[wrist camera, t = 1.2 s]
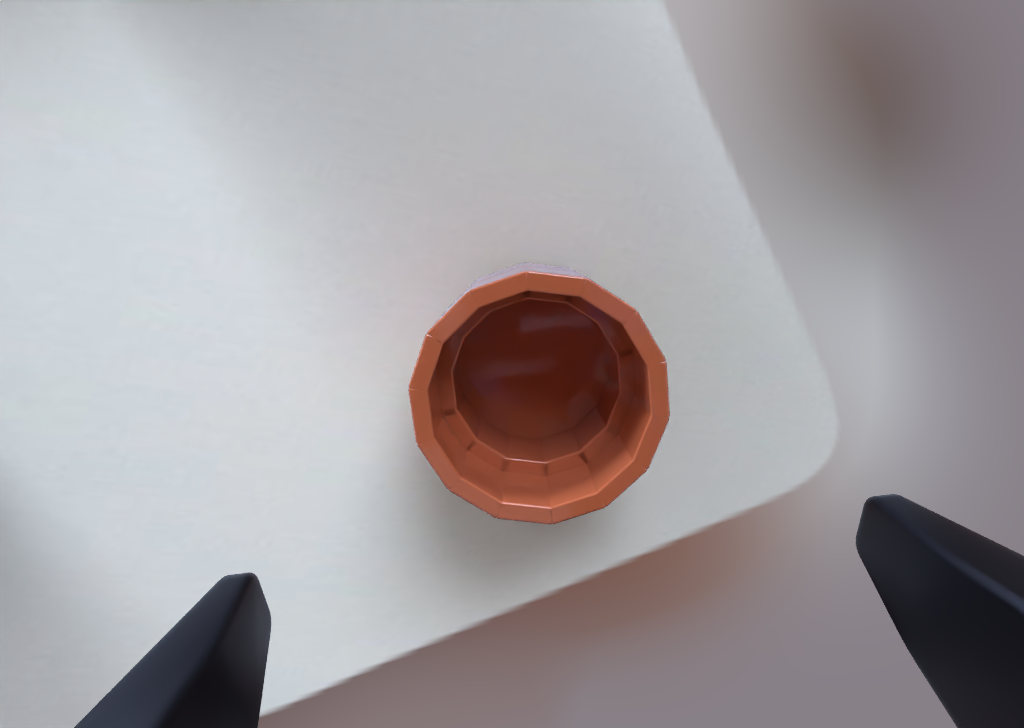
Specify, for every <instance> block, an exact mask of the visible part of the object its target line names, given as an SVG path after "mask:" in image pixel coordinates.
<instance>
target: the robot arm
mask: <svg viewBox="0 0 1024 728" xmlns="http://www.w3.org/2000/svg"><path fill="white" fill-rule="evenodd" d="M856 546H857V550H858V553H859V555H860V558H861V559H862V561H863V563H864V565H865V567H866V569H867V571H868V573H869V575H870V577H871V579H872V581H873V583H874V585H875V587H876V589H877V591H878V593H879V595H880V597H881V599H882V601H883V603H884V605H885V607H886V609H887V611H888V613H889V615H890V617H891V618H892V620H893V622H894V624H895V626H896V628H897V630H898V632H899V634H900V636H901V638H902V640H903V641H904V643H905V645H906V647H907V649H908V650H909V652H910V653H911V655H912V657H913V658H914V660H915V662H916V663H917V665H918V667H919V668H920V670H921V671H922V673H923V674H924V676H925V678H926V679H927V681H928V682H929V684H930V685H931V687H932V688H933V690H934V692H935V693H936V695H937V696H938V698H939V700H940V701H941V702H942V704H943V706H944V707H945V709H946V710H947V712H948V714H949V715H950V717H951V718H952V720H953V722H954V723H955V724H956V726H957V727H958V728H1024V556H1022V555H1021V554H1018V553H1016V552H1014V551H1012V550H1010V549H1008V548H1006V547H1004V546H1002V545H1000V544H998V543H996V542H994V541H992V540H990V539H988V538H986V537H984V536H982V535H980V534H978V533H975V532H974V531H971V530H969V529H967V528H965V527H963V526H961V525H959V524H957V523H955V522H953V521H951V520H949V519H947V518H945V517H943V516H941V515H939V514H937V513H935V512H933V511H930V510H928V509H927V508H924V507H922V506H920V505H918V504H916V503H914V502H912V501H910V500H908V499H906V498H904V497H902V496H900V495H895V494H890V495H882V496H873V497H870V498H868V499H867V501H866V502H865V504H864V507H863V511H862V515H861V519H860V524H859V527H858V531H857V535H856ZM270 632H271V615H270V611H269V608H268V605H267V602H266V599H265V597H264V594H263V591H262V588H261V585H260V583H259V580H258V578H257V576H256V575H255V574H253V573H242V574H234V575H228V576H225V577H223V578H222V579H220V580H219V581H218V582H217V583H216V584H215V585H214V586H213V587H212V588H211V589H210V590H209V591H208V592H207V593H206V594H205V595H204V596H203V597H202V599H201V600H200V601H199V602H198V603H197V604H196V605H195V606H194V607H193V608H192V609H191V610H190V611H189V612H188V613H187V614H186V615H185V616H184V617H183V618H182V619H181V620H180V621H179V622H178V623H177V624H176V625H175V626H174V627H173V628H172V629H171V630H170V631H169V632H168V633H167V634H166V635H165V636H164V637H163V638H162V639H161V640H160V641H159V642H158V643H157V644H156V645H155V646H154V647H153V648H152V649H151V650H150V651H149V652H148V653H147V654H146V655H145V656H144V657H143V658H142V659H141V660H140V661H139V662H138V663H137V664H136V665H135V666H134V667H133V668H132V669H131V671H130V672H129V673H128V674H127V675H126V676H125V677H124V678H123V679H122V680H121V681H120V682H119V683H118V684H117V685H116V686H115V687H114V688H113V689H112V690H111V691H110V692H109V693H108V694H107V695H106V696H105V697H104V698H103V699H102V700H101V701H100V702H99V703H98V704H97V705H96V706H95V707H94V708H93V709H92V710H91V711H90V712H89V713H88V714H87V715H86V716H85V717H84V718H83V719H82V720H81V721H80V722H79V723H78V724H77V725H76V726H75V727H74V728H257V727H258V720H259V713H260V706H261V699H262V691H263V684H264V676H265V669H266V662H267V654H268V647H269V639H270Z"/></svg>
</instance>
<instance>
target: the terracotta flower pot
mask: <svg viewBox="0 0 1024 728" xmlns="http://www.w3.org/2000/svg"><path fill="white" fill-rule="evenodd" d="M408 391H409V397H410V404H411V411H412V418H413V425H414V432H415V439H416V442H417V445H418V447H419V449H420V450H421V451H422V453H423V454H424V456H425V457H426V459H427V460H428V462H429V463H430V465H431V466H432V468H433V469H434V470H435V472H436V473H437V475H438V476H439V478H440V479H441V481H442V482H443V484H444V485H445V486H446V488H447V489H449V491H450V492H452V493H454V494H456V495H457V496H459V497H461V498H462V499H464V500H466V501H467V502H469V503H471V504H473V505H474V506H476V507H478V508H479V509H481V510H483V511H485V512H486V513H488V514H490V515H491V516H493V517H495V518H496V517H497V518H498V519H506V520H515V521H524V522H534V523H543V524H552V523H553V524H555V523H559V522H562V521H565V520H568V519H571V518H574V517H577V516H581V515H584V514H587V513H590V512H593V511H596V510H599V509H602V508H605V506H608V505H609V504H610V503H611V502H612V501H614V500H615V499H616V498H617V497H618V496H619V495H620V494H621V493H622V492H624V491H625V490H626V489H627V488H628V487H629V486H630V485H631V484H632V483H634V482H635V481H636V480H637V479H638V478H639V477H640V476H641V475H642V474H644V473H645V472H646V471H647V469H648V468H649V466H650V464H651V461H652V459H653V457H654V454H655V452H656V449H657V447H658V445H659V442H660V440H661V437H662V435H663V433H664V430H665V428H666V426H667V423H668V421H669V416H670V410H669V393H668V377H667V362H666V361H665V357H664V355H663V354H662V352H661V350H660V348H659V347H658V345H657V343H656V342H655V340H654V338H653V336H652V335H651V333H650V331H649V330H648V328H647V326H646V324H645V323H644V321H643V319H642V318H641V316H640V314H639V313H638V312H637V311H636V309H635V308H633V307H632V306H630V305H629V304H627V303H625V302H624V301H622V300H621V299H619V298H618V297H616V296H615V295H613V294H612V293H610V292H608V291H607V290H605V289H604V288H602V287H601V286H599V285H598V284H596V283H595V282H593V281H591V280H590V279H588V278H587V277H585V276H583V275H582V274H580V273H578V272H577V271H575V270H573V269H570V268H568V267H559V266H551V265H543V264H534V263H526V262H524V263H519V264H516V265H513V266H511V267H508V268H505V269H502V270H499V271H496V272H493V273H490V274H488V275H485V276H482V277H479V278H478V279H477V280H475V281H474V282H473V283H472V284H471V285H470V286H469V287H468V288H467V289H466V290H465V291H464V292H463V293H462V294H461V295H460V296H459V297H458V298H457V299H456V300H455V301H454V302H453V303H452V304H451V305H450V306H449V307H448V308H447V309H446V311H445V312H444V313H443V314H442V315H441V316H440V318H439V319H438V320H437V321H436V322H435V323H434V325H433V326H432V327H431V328H430V329H429V330H428V332H427V334H426V335H425V338H424V341H423V344H422V347H421V350H420V353H419V356H418V359H417V362H416V365H415V368H414V371H413V374H412V377H411V381H410V384H409V390H408Z"/></svg>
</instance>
